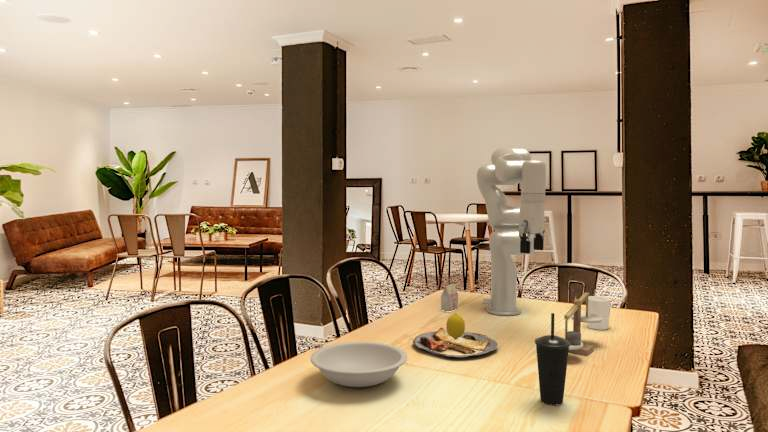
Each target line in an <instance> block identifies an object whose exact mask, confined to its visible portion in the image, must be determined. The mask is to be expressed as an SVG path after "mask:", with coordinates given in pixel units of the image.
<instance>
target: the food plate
mask: <svg viewBox="0 0 768 432" xmlns="http://www.w3.org/2000/svg"><path fill="white" fill-rule="evenodd" d="M412 343H413V345H414V346H415V345H416V348H418V349H422V350H425V351H427V352H429V353H430V354H433V355H434V356H442V357H452V358H467V357H471V356H480V355H484V354H485V355H486V354H488V353H491V352H493V351H495V350H496V349H498V348H499V343H498V342H497V341H496V340H495V339H492V338H491V337H490V336H487V335H484V334H481V333H475V332H468V331H467V332H466V331H464V333H463V335H462V336H461V337H459V338H457V339H456V340H455V339H454V338H453V337H451V336H450V335H449V334H448V332H447V329H445V328H444V327H439V328H438V330H436V331H429V332H425V333H421V334H419V335H417V336H415V338H414V339H413V340H412ZM448 343H449V344H448ZM451 344H453V345H452V346H450V345H451ZM455 345H456V346H455ZM460 346H461V347H460ZM447 349H448V350H452V351H455V352H457V351H458V353H460V352H461V355H460V354H459V355H456V354H448V353H443V351H444V352H446V351H448V350H447ZM431 350H432V351H431ZM477 351H479V352H477ZM476 352H477V353H476ZM465 354H466V355H465Z"/></svg>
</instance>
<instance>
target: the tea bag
mask: <svg viewBox="0 0 768 432" xmlns="http://www.w3.org/2000/svg"><path fill="white" fill-rule="evenodd" d="M457 308H458V309H459V293H458V291H457V288H456V285H455V283H451V284H447V285H445V286H444V289H443V291H442V293H441V295H440V311H441V310H444V311H452V310H455V309H457ZM458 309H457V310H458ZM455 311H456V310H455ZM452 312H453V311H452Z"/></svg>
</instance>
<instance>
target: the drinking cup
mask: <svg viewBox="0 0 768 432" xmlns="http://www.w3.org/2000/svg"><path fill="white" fill-rule="evenodd" d="M550 314H551V315H550V317H551V318H550V319H551V320H550V334H548V335H543V336H540V337H537V338H535V340H534V343H535V347H536V348H535V349H536V357H537V358H536V359H537V361H536V362H537V371H538V385H539V396H540V398H539V399H540V402H541V403H543V402H544V403H543V404H545V403H547V404H546V405H549V404H552V405H551V406H557V405H556V404H560V405H562V404H563V403H564V396H565V395H564V394H565V388H566V387H565V386H566V377H567V370H568V369H567V367H568V361H569V360H568V359H569V353H570V352H569V347H570V342H569V341H568V340H565V339H564V338H565V337H561V336H558V335H555V313H554V312H552V313H550ZM561 403H562V404H561ZM553 404H554V405H553Z"/></svg>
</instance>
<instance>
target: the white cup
mask: <svg viewBox="0 0 768 432" xmlns="http://www.w3.org/2000/svg"><path fill="white" fill-rule="evenodd" d="M611 302H612V299H611V298H609V297H605V296H599V295H589V297H588V313H590V314H596V315H599V316H602V317H603V321H602V322H599V323H586V325H587V328H589V329H592V330H598V331H600V330H602V331H605V330H607V329H609V325H610V323H609V322H610V317H611Z"/></svg>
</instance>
